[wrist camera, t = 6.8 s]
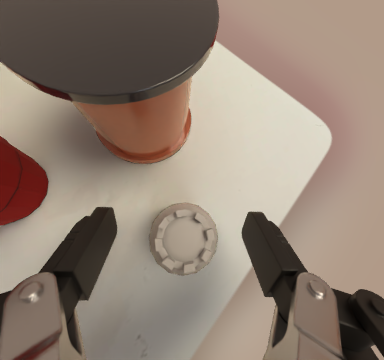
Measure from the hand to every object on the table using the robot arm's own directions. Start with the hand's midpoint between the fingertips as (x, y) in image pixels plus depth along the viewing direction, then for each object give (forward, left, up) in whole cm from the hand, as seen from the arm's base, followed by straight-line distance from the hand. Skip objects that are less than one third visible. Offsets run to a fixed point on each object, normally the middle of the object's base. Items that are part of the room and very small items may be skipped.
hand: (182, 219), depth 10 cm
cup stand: (+3, -10, -5) cm, 12 cm away
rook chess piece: (0, +1, -5) cm, 5 cm away
